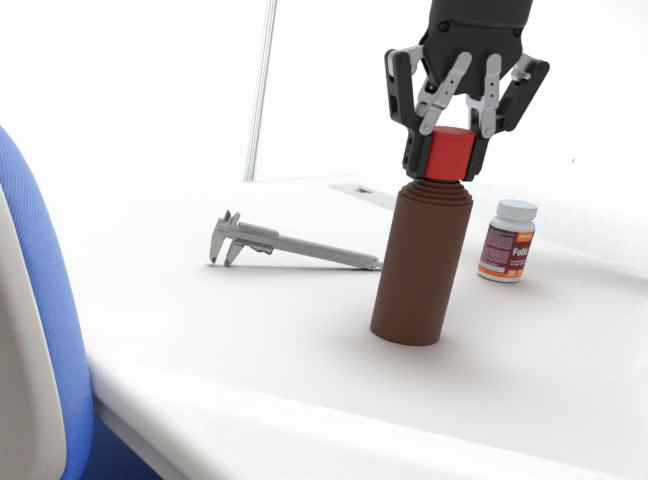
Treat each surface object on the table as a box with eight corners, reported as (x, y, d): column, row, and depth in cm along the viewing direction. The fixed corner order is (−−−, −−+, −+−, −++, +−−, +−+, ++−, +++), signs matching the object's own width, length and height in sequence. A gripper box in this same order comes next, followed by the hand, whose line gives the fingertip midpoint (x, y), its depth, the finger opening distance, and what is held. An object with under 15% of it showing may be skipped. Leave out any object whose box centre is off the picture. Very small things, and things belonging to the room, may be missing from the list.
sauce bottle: (424, 320, 86) (469, 132, 78) (450, 346, 80) (501, 147, 72) (361, 318, 85) (399, 129, 77) (382, 344, 80) (426, 144, 71)
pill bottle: (511, 286, 97) (533, 211, 93) (469, 274, 99) (489, 202, 95) (526, 277, 100) (548, 204, 96) (485, 266, 103) (505, 195, 99)
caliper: (210, 266, 97) (216, 211, 94) (208, 263, 98) (214, 208, 95) (386, 271, 99) (398, 216, 96) (383, 267, 100) (394, 213, 97)
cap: (428, 179, 74) (438, 133, 72) (408, 168, 77) (418, 124, 76) (472, 181, 74) (484, 135, 73) (451, 170, 78) (462, 126, 76)
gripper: (426, -47, 64) (377, 186, 72) (603, -34, 66) (537, 192, 74) (386, -48, 71) (346, 165, 79) (549, -36, 72) (493, 172, 80)
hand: (439, 177), depth 76 cm, fingers closed on cap, 4 cm apart
